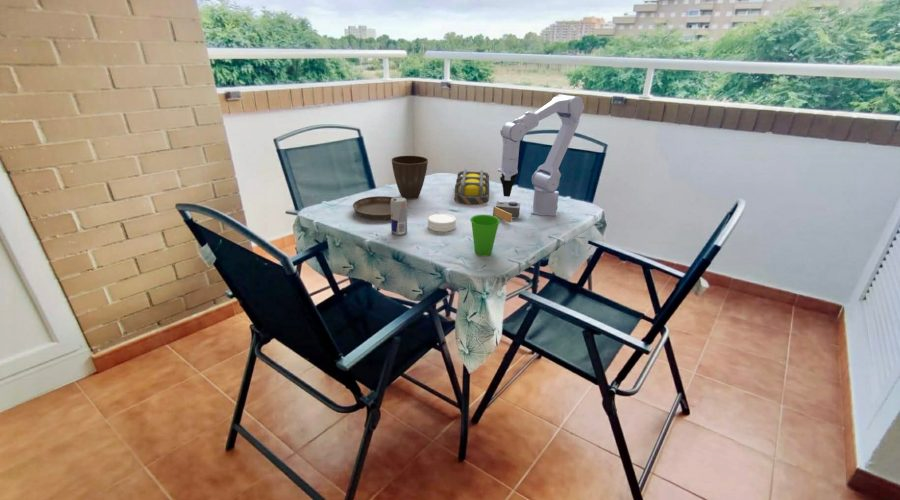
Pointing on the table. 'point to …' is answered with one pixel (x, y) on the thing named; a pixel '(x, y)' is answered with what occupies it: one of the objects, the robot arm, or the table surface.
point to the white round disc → (441, 222)
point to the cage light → (472, 188)
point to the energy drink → (398, 215)
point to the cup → (484, 233)
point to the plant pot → (409, 175)
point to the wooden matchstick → (502, 214)
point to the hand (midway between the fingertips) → (507, 194)
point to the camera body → (509, 208)
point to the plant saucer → (374, 207)
